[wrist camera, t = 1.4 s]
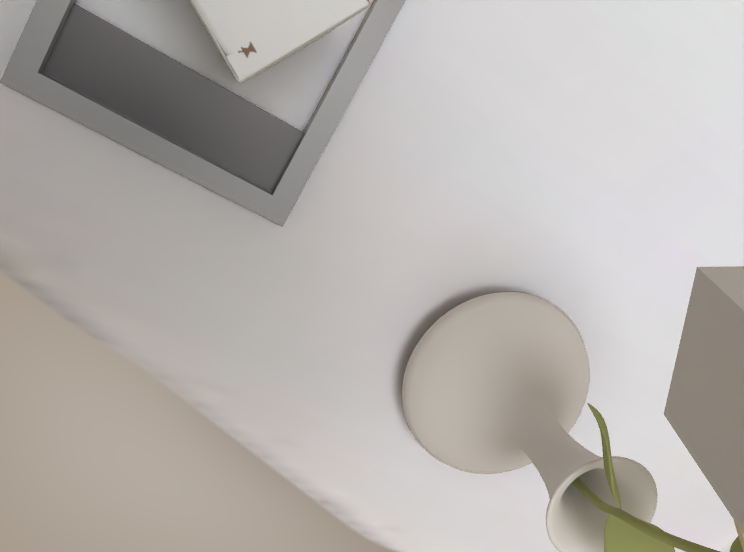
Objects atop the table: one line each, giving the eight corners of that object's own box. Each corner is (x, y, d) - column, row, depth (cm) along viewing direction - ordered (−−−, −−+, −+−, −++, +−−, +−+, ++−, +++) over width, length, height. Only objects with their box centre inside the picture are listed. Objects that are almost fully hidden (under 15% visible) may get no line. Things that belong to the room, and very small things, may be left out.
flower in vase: (580, 431, 44) (976, 844, 21) (409, 475, 43) (629, 975, 19) (566, 238, 40) (1041, 480, 17) (377, 279, 39) (606, 609, 15)
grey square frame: (6, 82, 32) (0, 82, 31) (150, -235, 30) (147, -245, 29) (281, 222, 37) (282, 226, 36) (425, -44, 34) (431, -47, 33)
